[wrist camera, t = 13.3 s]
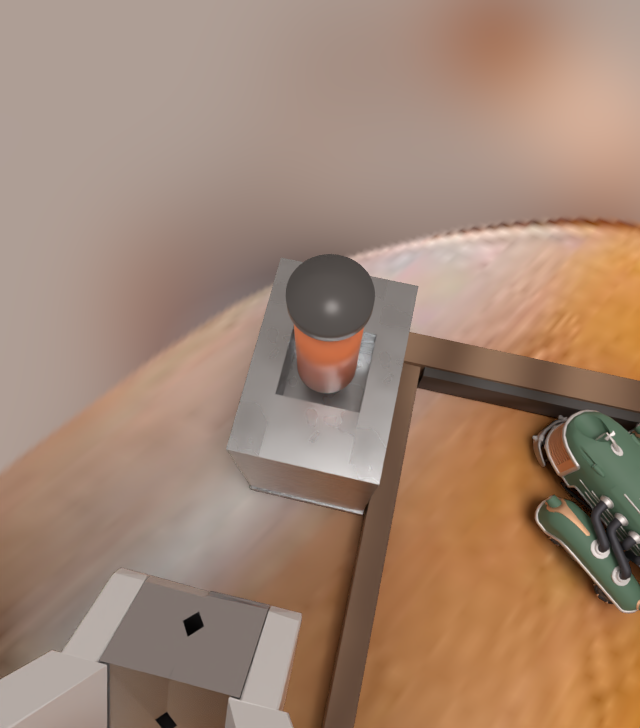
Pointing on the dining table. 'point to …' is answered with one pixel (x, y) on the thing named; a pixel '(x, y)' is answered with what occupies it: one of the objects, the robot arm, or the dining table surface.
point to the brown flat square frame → (435, 372)
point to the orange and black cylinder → (329, 319)
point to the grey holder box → (321, 407)
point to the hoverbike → (596, 500)
